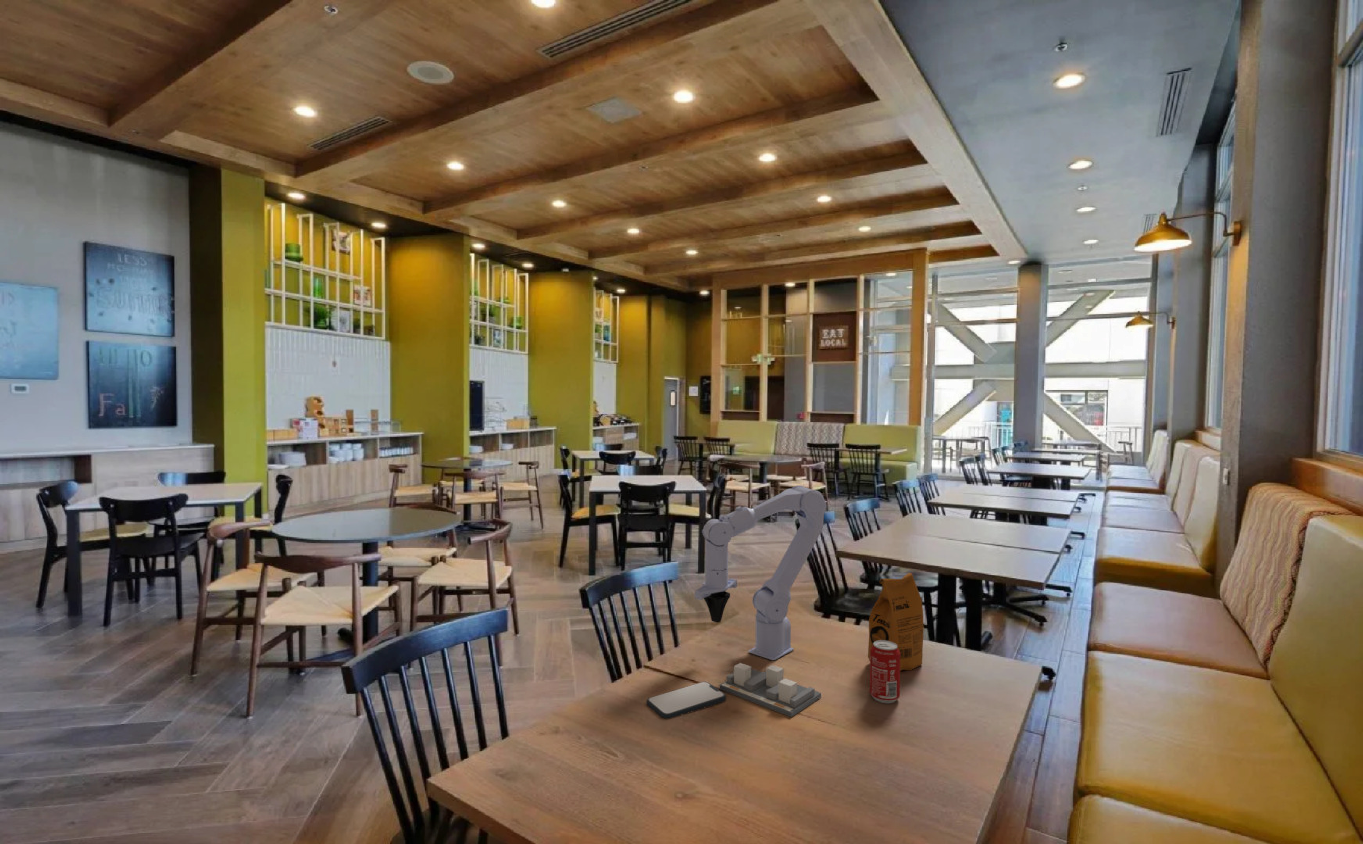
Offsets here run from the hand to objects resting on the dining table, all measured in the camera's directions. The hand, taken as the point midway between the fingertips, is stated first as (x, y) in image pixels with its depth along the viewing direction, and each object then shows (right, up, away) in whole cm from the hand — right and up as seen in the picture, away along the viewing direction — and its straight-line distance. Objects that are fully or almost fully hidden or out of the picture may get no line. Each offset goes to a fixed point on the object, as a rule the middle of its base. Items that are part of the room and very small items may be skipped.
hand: (716, 621), depth 163 cm
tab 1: (+5, -9, -16) cm, 19 cm away
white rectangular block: (+12, -9, -17) cm, 23 cm away
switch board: (+11, -10, -19) cm, 24 cm away
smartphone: (-8, -11, -23) cm, 26 cm away
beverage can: (+36, -11, -21) cm, 43 cm away
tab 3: (+14, -9, -24) cm, 30 cm away
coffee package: (+44, -10, -3) cm, 45 cm away
